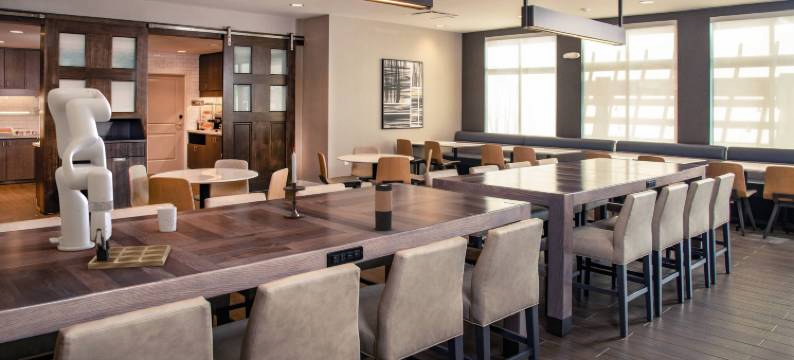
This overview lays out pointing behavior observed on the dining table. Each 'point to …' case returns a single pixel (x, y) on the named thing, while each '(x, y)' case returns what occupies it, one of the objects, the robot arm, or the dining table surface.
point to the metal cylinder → (108, 254)
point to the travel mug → (383, 207)
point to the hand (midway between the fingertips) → (103, 258)
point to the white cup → (167, 218)
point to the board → (133, 257)
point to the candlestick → (294, 189)
